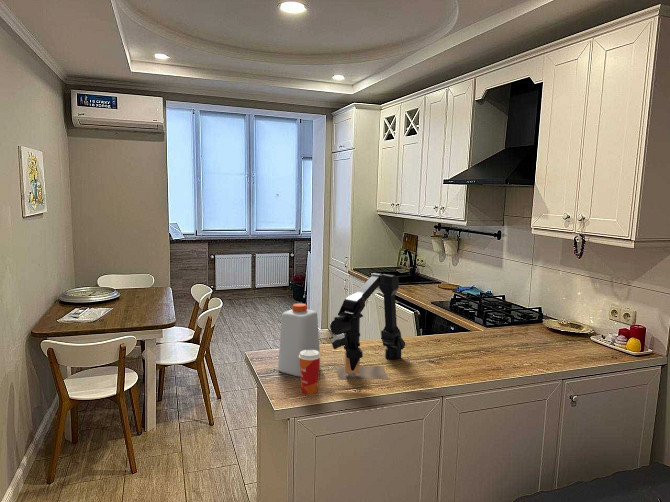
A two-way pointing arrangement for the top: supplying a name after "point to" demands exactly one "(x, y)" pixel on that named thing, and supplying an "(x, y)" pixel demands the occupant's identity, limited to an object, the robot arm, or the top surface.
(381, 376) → the walnut board
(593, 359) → the top surface
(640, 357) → the top surface
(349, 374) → the metal post
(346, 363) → the square block
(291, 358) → the plastic bottle
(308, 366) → the coffee cup
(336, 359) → the top surface
